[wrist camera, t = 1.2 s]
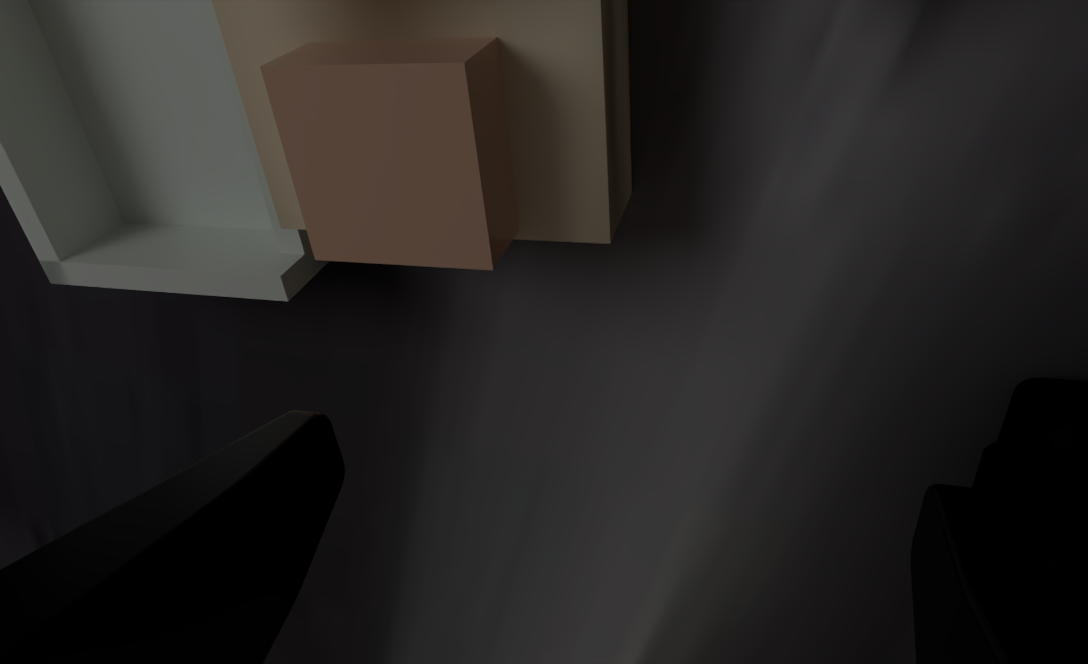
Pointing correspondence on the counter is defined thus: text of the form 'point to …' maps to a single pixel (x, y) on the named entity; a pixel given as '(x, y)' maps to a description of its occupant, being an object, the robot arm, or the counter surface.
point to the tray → (138, 152)
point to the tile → (398, 149)
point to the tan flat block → (528, 86)
